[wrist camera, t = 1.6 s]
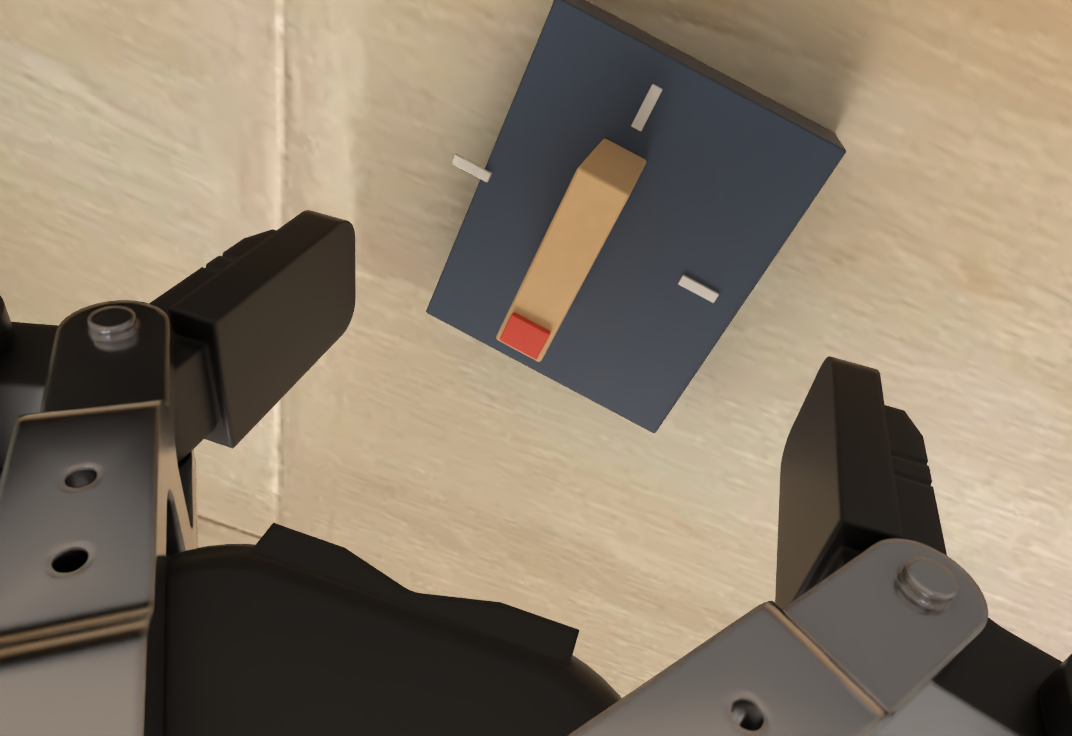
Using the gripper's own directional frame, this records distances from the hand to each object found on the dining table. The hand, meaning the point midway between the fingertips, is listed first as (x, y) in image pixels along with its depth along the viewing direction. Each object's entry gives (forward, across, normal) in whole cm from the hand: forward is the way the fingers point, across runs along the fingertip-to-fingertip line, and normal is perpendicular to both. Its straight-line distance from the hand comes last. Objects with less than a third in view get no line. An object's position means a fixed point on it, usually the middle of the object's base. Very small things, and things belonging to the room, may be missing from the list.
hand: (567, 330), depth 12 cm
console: (+16, +1, +5) cm, 17 cm away
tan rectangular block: (+13, +2, +4) cm, 14 cm away
